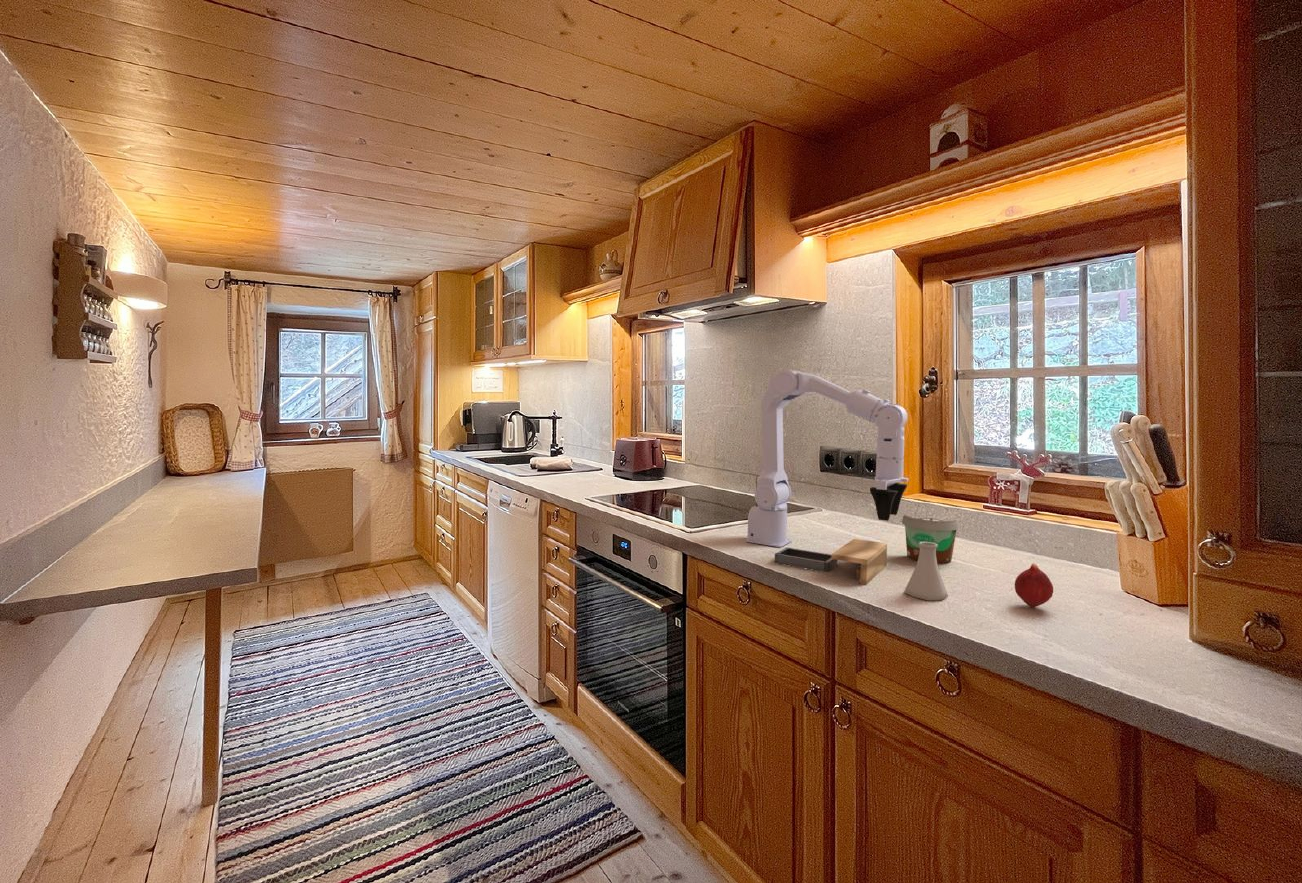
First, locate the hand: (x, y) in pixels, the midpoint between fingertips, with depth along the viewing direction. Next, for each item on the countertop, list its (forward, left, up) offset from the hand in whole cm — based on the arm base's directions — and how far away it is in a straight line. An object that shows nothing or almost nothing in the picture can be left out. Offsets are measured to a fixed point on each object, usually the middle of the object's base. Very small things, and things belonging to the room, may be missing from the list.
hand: (887, 517), depth 136 cm
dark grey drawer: (-14, -14, -10) cm, 22 cm away
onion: (+29, -16, -10) cm, 35 cm away
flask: (+12, -20, -10) cm, 26 cm away
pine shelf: (-3, -12, -10) cm, 16 cm away
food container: (+8, +5, -10) cm, 14 cm away
